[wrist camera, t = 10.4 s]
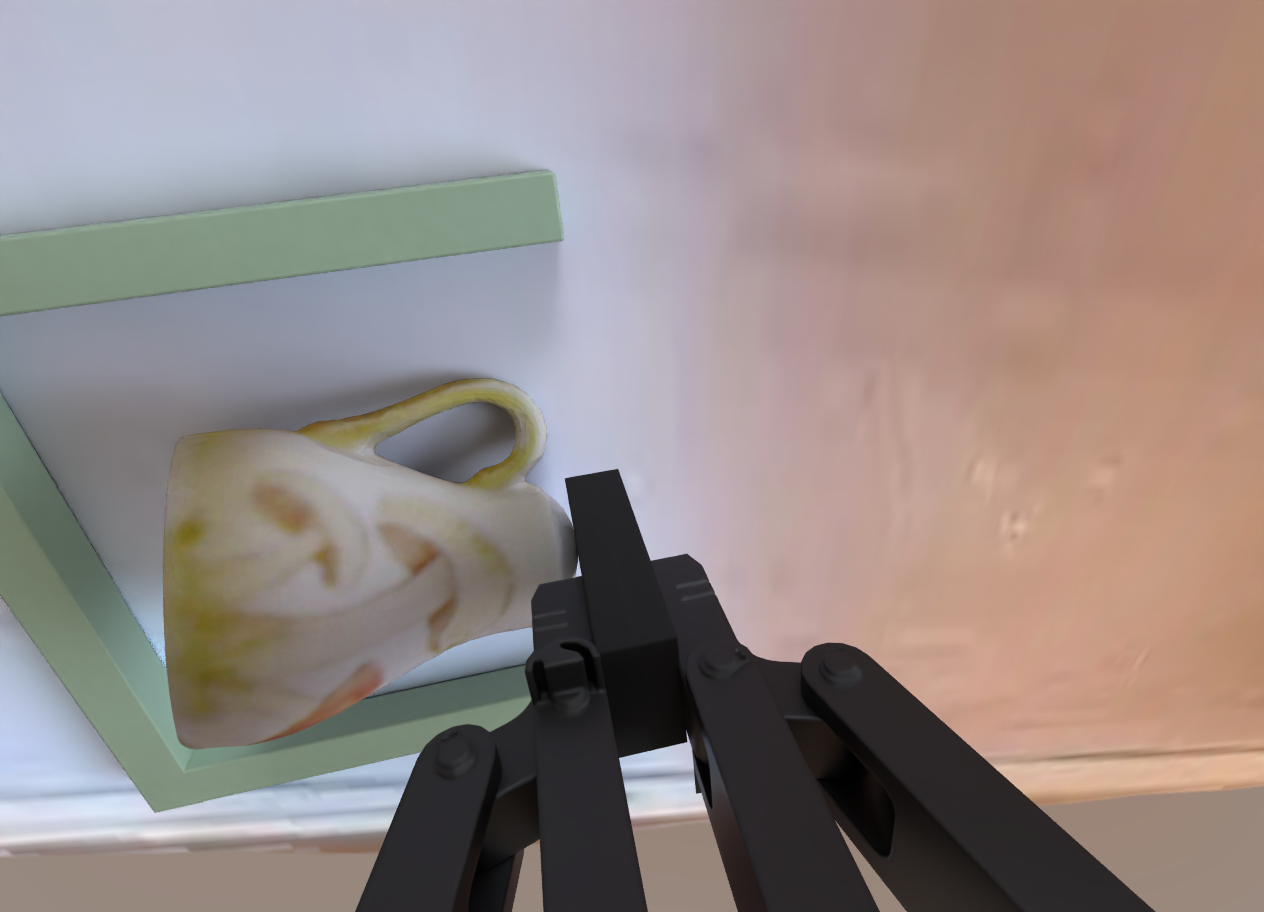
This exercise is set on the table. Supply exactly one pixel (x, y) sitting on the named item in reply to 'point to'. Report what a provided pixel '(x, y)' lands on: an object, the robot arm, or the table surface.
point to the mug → (341, 563)
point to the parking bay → (66, 561)
